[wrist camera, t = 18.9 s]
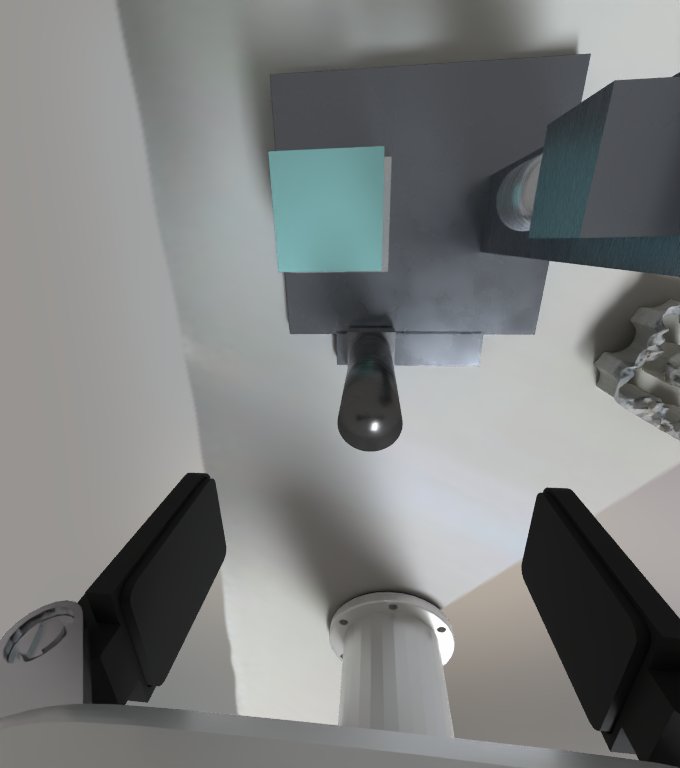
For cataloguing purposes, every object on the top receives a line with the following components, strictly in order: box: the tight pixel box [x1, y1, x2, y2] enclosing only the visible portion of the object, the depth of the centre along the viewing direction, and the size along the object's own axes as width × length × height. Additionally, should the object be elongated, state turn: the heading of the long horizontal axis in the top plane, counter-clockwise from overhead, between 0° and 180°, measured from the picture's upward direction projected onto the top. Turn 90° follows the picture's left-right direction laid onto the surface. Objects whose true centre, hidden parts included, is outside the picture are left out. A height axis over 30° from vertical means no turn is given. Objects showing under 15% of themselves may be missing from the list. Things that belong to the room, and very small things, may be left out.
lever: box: [338, 328, 403, 451], centre depth 19 cm, size 3×3×10 cm
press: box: [270, 54, 680, 366], centre depth 13 cm, size 16×16×18 cm
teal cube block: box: [268, 146, 384, 272], centre depth 18 cm, size 5×5×5 cm
